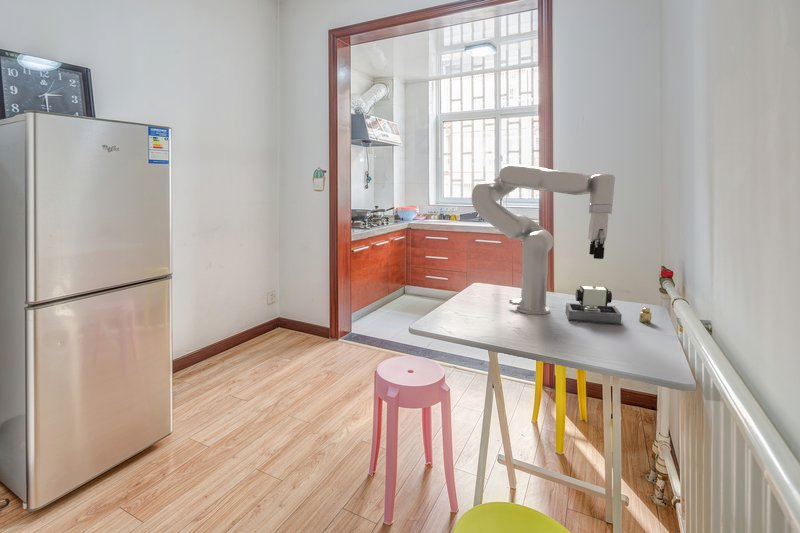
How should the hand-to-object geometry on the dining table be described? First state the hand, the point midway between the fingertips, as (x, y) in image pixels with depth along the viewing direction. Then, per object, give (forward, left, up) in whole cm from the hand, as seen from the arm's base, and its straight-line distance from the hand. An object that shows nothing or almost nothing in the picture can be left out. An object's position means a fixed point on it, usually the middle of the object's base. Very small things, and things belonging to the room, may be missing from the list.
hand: (596, 256), depth 153 cm
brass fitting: (+18, +1, -24) cm, 30 cm away
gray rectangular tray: (0, 0, -24) cm, 24 cm away
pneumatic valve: (0, 0, -23) cm, 23 cm away
